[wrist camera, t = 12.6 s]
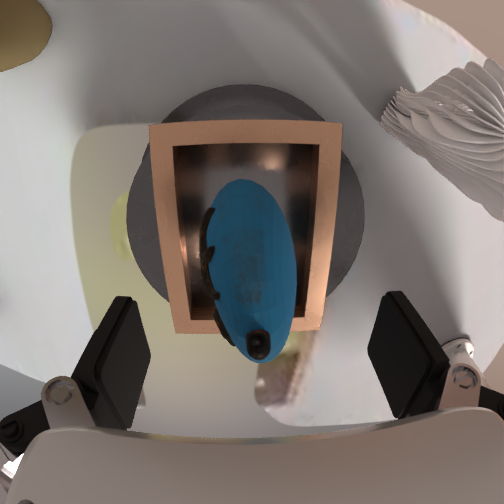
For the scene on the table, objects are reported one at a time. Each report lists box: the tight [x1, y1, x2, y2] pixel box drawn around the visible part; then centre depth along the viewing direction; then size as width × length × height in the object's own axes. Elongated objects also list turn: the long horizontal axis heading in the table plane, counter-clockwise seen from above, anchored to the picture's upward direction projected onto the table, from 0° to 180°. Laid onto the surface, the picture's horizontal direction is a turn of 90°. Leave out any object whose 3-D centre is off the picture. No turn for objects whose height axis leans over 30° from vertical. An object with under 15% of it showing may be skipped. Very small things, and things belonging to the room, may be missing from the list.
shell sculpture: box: [381, 58, 504, 221], centre depth 16 cm, size 8×8×18 cm
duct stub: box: [126, 84, 364, 334], centre depth 22 cm, size 19×19×12 cm
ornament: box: [199, 179, 297, 363], centre depth 14 cm, size 8×5×10 cm, turn 8°
